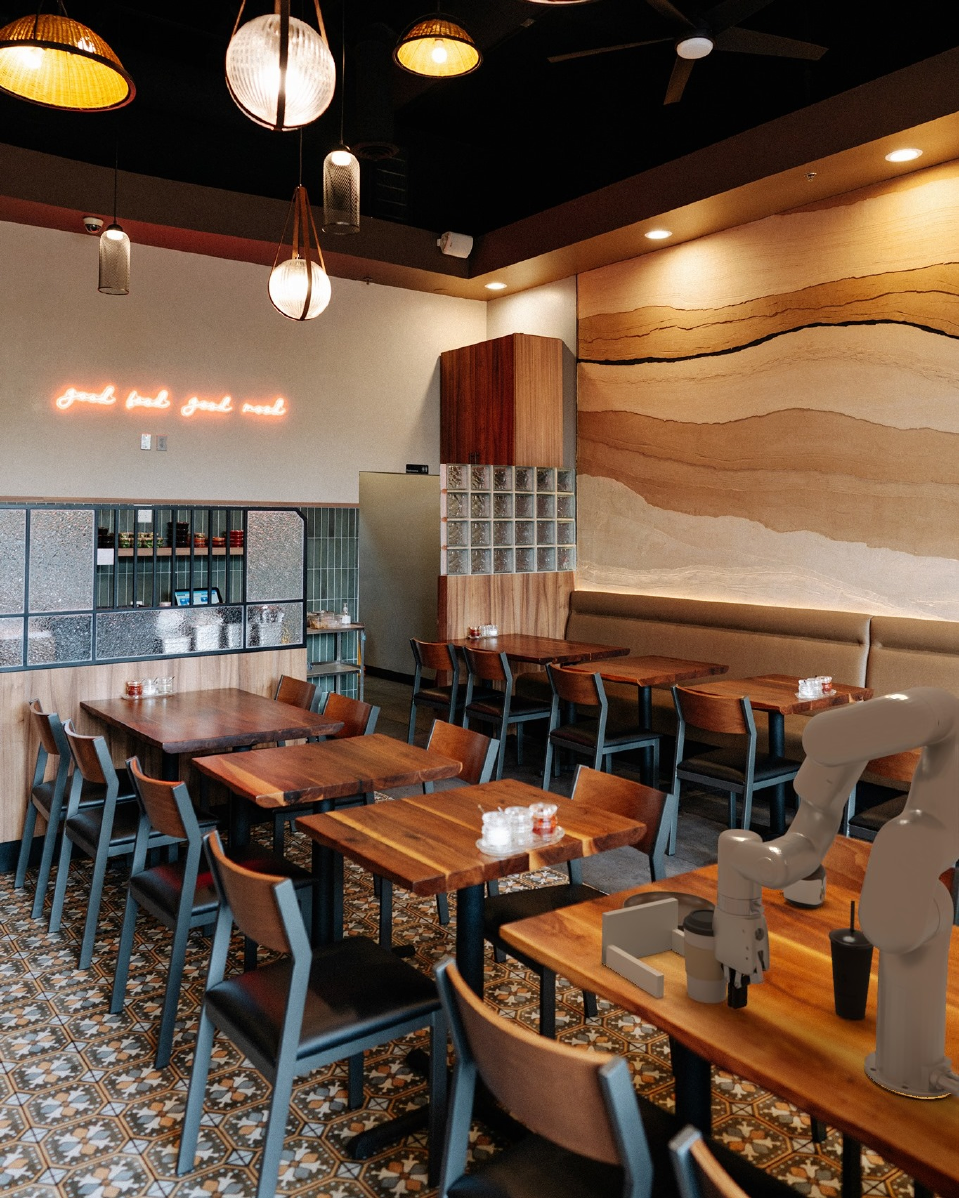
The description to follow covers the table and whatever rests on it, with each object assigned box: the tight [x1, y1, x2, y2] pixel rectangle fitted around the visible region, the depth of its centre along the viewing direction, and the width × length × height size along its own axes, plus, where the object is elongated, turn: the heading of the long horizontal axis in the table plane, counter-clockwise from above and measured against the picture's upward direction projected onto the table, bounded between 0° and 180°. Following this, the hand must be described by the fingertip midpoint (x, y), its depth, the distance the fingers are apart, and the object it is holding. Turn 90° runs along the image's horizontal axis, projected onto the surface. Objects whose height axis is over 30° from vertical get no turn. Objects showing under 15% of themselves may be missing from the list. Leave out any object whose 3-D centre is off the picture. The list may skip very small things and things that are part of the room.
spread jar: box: [781, 863, 827, 910], centre depth 217 cm, size 12×11×12 cm
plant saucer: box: [622, 890, 717, 932], centre depth 205 cm, size 21×21×3 cm
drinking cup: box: [828, 900, 875, 1022], centre depth 162 cm, size 8×8×20 cm
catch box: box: [601, 898, 685, 999], centre depth 179 cm, size 16×18×10 cm
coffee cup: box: [683, 909, 728, 1004], centre depth 169 cm, size 9×9×15 cm
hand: (737, 1005), depth 163 cm, fingers closed
